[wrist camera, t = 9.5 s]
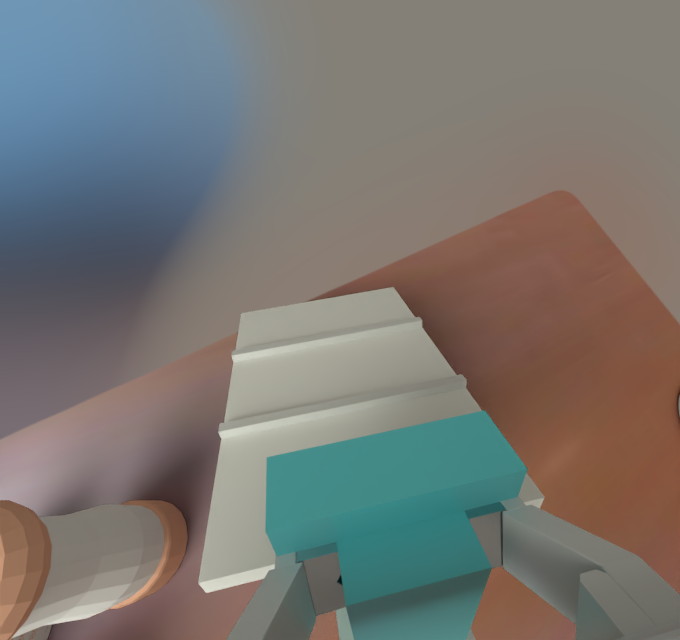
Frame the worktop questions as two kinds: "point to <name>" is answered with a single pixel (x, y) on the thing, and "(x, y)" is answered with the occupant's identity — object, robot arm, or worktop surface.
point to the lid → (358, 465)
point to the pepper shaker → (84, 560)
